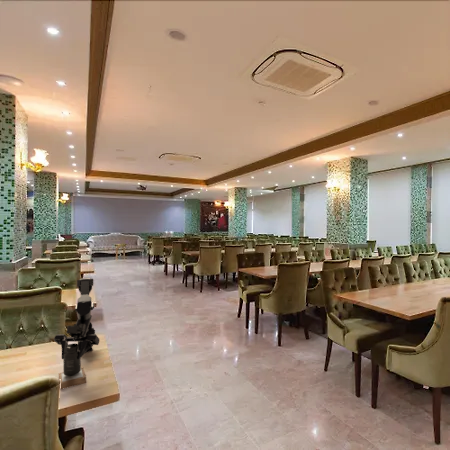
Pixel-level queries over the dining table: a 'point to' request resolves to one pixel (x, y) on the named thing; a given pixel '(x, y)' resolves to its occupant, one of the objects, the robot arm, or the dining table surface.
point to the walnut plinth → (72, 379)
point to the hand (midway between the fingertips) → (70, 358)
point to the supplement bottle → (71, 360)
